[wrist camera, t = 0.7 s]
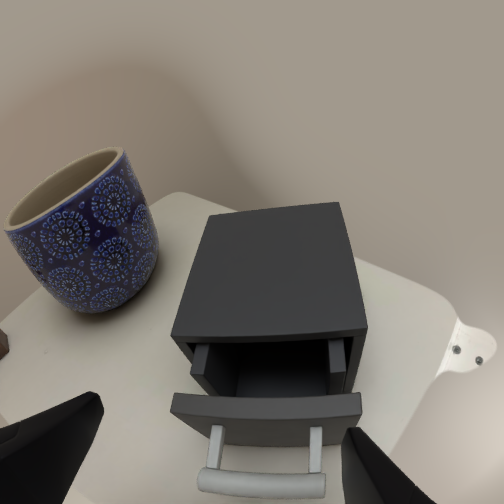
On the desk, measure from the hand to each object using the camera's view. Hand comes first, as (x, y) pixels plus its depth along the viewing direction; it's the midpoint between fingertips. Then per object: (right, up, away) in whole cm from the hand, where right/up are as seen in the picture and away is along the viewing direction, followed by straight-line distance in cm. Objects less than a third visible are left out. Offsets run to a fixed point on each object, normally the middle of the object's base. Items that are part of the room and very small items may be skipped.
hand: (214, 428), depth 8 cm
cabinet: (+4, -1, +16) cm, 17 cm away
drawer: (+3, -5, +10) cm, 12 cm away
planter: (-17, +2, +27) cm, 31 cm away
